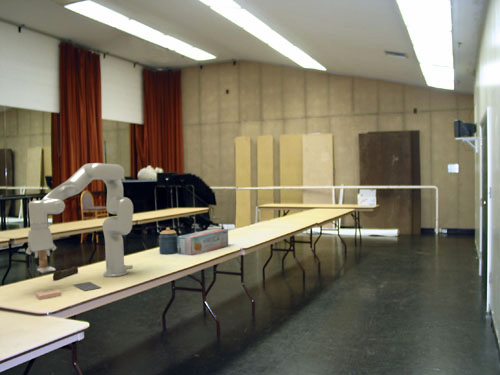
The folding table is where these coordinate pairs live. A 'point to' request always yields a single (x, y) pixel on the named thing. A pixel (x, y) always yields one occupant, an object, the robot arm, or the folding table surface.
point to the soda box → (202, 241)
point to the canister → (168, 242)
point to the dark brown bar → (64, 273)
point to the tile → (48, 294)
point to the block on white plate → (43, 262)
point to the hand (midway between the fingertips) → (42, 264)
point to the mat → (87, 286)
